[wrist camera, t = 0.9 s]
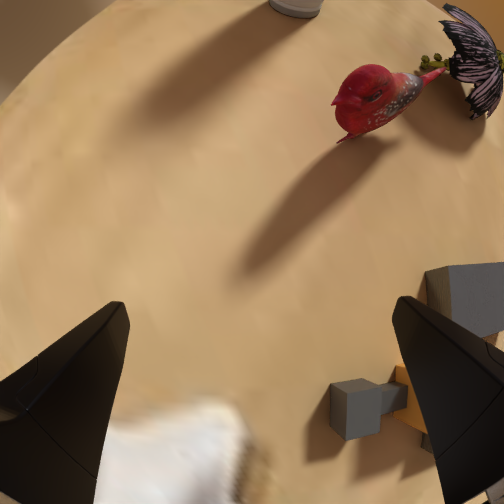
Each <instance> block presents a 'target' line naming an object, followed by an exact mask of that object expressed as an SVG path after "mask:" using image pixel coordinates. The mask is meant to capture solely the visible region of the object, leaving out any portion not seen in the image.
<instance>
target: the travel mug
mask: <svg viewBox="0 0 504 504" xmlns="http://www.w3.org/2000/svg"><path fill="white" fill-rule="evenodd" d="M269 3H270V5H271V6H272V7H273V8H274V9H275V10H277V11H279V12H280V13H283V14H285V15H288V16H292V17H298V18H310V17H314V16H316V15H318V14H319V12H320V9H321V6H322V3H323V0H269Z"/></svg>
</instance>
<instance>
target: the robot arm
mask: <svg viewBox="0 0 504 504" xmlns="http://www.w3.org/2000/svg"><path fill="white" fill-rule="evenodd" d="M392 323H393V326H394V330H395V333H396V337H397V341H398V344H399V348H400V352H401V355H402V359H403V362H404V364H405V367H406V370H407V373H408V375H409V378H410V381H411V384H412V387H413V389H414V392H415V395H416V398H417V401H418V404H419V407H420V410H421V413H422V417H423V420H424V423H425V426H426V430H427V433H428V436H429V440H430V443H431V447H432V451H433V454H434V458H435V460H436V461H435V462H436V466H437V470H438V474H439V479H440V483H441V487H442V492H443V497H444V501H445V504H464V503H466V502H467V501H469V500H471V499H473V498H475V497H476V496H478V495H480V494H481V493H483V492H485V493H486V496H487V498H488V500H487V501H485V502H484V503H482V504H504V352H503V351H501V350H500V349H498V348H496V347H495V346H493V345H491V344H490V343H488V342H487V341H486V342H485V340H483V339H482V338H480V337H479V336H477V335H475V334H474V333H472V332H470V331H469V330H467V329H466V328H464V327H462V326H461V325H459V324H457V323H456V322H454V321H452V320H451V319H449V318H447V317H446V316H444V315H442V314H441V313H439V312H437V311H435V310H434V309H432V308H430V307H429V306H427V305H425V304H424V303H422V302H420V301H418V300H417V299H415V298H413V297H411V296H401V297H399V298H398V300H397V303H396V306H395V309H394V312H393V315H392ZM129 330H130V321H129V318H128V314H127V311H126V307H125V304H124V303H123V302H119V301H112V302H110V303H108V304H107V305H105V306H104V307H103V308H101V309H100V310H98V311H97V312H96V313H94V314H93V315H91V316H90V317H89V318H87V319H86V320H84V321H83V322H82V323H80V324H79V325H77V326H76V327H75V328H73V329H72V330H71V331H69V332H68V333H67V334H65V335H64V336H62V337H61V338H60V339H58V340H57V341H56V342H54V343H53V344H52V345H50V346H49V347H48V348H46V349H45V350H44V351H42V352H41V353H40V354H38V356H36V357H34V358H33V359H32V360H30V361H29V362H28V363H26V364H25V365H24V366H22V367H21V368H20V369H18V370H17V371H15V372H14V373H12V374H11V375H9V376H8V377H6V378H5V379H3V380H2V381H0V504H93V502H94V495H95V489H96V483H97V480H96V479H97V476H98V471H99V465H100V460H101V455H102V450H103V445H104V441H105V436H106V432H107V427H108V423H109V419H110V415H111V411H112V407H113V403H114V399H115V395H116V391H117V387H118V384H119V380H120V376H121V373H122V369H123V364H124V358H125V352H126V346H127V341H128V335H129Z"/></svg>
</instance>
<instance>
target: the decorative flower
mask: <svg viewBox="0 0 504 504" xmlns="http://www.w3.org/2000/svg"><path fill="white" fill-rule="evenodd" d="M443 8H444V9H445V10H446V11H447V12H448V13H449V14H451V15H452V16H454V17H455V18H457V19H458V20H460V21H461V22H462V23H464V24H462V23H459V22H454V21H447V20H444V21H438V22H440V23H441V24H442V25H444V29H443V31H444V32H445V33H446V35H447V36H448V38H449V39H451V40H452V43H453V46H455V48H456V51H454V55H453V56H452V58H449V59H445V60H444V61H441V60H442V57H441V55H440V54H435V55H434V59H435V60H436V61H430V60H429V58H428V56H425V55H424V56H422V58H421V60H422V61H423V62H421V67H422V68H423V69H427V68H428V64H429V65H431V66H433V67H437V68H434V70H437V69H438V68H442V67H446V68H447V69H446V70H447V71H450V74H449V75H452V76H451V77H453V78H454V79H455V80H458V81H460V82H464V83H472V84H474V87H475V88H474V90H473V91H472V92H471V93H470V94H469V96H468V97H467V98H466V99H465V101H467V102H468V103H469V104H470V106H471V108H470V111H472V110H473V112H474V114H473V115H472V116H471V117H470V119H471V120H473V119H475V118H477V117H479V116H481V115H482V114H484V113H485V112H487V111H488V113H487V115H488V117H489V116H491V114H492V113H493V112H494V110H495V109H496V107H497V106H498V104H499V101H500V99H501V96H502V92H503V73H504V54H503V53H502V52H501V51H499V50H497V49H496V46H495V44H494V42H493V40H492V38H491V37H490V35H489V34H488V33H487V31H486V30H485V28H484V27H483V26H482V25H481V24H480V23H479V22H478V21H477V20H476V19H474V18H473V17H472V16H471V15H469V14H468V13H466V12H465V11H463V10H461V9H459V8H457V7H456V6H452V5H449V4H447V3H446V4H445V5H444V7H443ZM440 75H441V74H440ZM440 75H439V76H440ZM488 117H487V118H488ZM487 118H486V119H487Z"/></svg>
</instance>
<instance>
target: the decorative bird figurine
mask: <svg viewBox="0 0 504 504" xmlns="http://www.w3.org/2000/svg"><path fill="white" fill-rule="evenodd" d="M446 69H447V68H446V67H442V68H439V69H437V70H434V71H432V72H429V73H427V74H425V75H422V76H420V77H418V76H416V75H413V74H409V73H390V72H389V71H388V70H387V69H386V68H385V67H383V66H380V65H375V64H368V65H364V66H361V67H359V68H357V69H356V70H354V71H353V72H352V73H351V74H350V75H348V77H347V78H346V79H345V80H344V82H343V83H342V85H341V87H340V89H339V92H338V95H337V96H336V97H335V99H334V100H333V102H332V104H331V106H333V105H336V110H335V116H336V120H337V122H338V124H339V125H340V126H341V127H342V128H343V129H344V130H345V131H347V132H349V133H348V134H347V136H346V137H344V138H342V139H341V140H339V141H338V142H337V143H339V142H342V141H344V140H346V139H352V138H354V137H356V136H358V135H359V134H361V133H367V132H370V131H372V130H375V129H377V128H379V127H381V126H383V125H385V124H387V123H388V122H390V121H391V120H393V119H394V118H395V117H397V116H398V115H399V114H400V113H401V112H403V111H404V110H405V109H406V108H407V107H408V106H409V105H410V104H411V103H412V102H413V101H414V100H415V99H416V98H417V97H418V95H419V94H420V92H421V91H422V89H423V88H424V87H425V86H426V85H427V84H428V83H429V82H431V81H432V80H434V79H435V78H436V77H438V76H439V75H440V74H441V73H443V72H444V71H445V70H446Z"/></svg>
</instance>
